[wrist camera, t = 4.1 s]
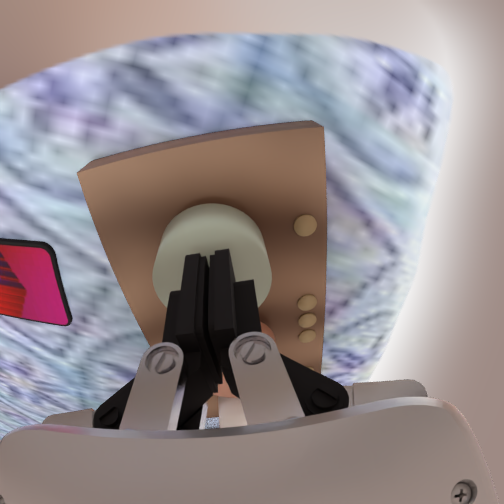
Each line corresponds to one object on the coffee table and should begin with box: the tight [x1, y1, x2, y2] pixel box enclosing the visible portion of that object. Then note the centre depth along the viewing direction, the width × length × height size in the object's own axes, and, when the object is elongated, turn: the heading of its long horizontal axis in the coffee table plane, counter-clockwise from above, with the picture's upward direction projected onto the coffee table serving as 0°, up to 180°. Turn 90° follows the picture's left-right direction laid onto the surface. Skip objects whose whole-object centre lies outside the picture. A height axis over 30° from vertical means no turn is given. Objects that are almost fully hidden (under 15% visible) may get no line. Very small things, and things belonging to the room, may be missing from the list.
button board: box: [77, 120, 327, 418], centre depth 20 cm, size 24×12×2 cm, turn 7°
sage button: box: [152, 203, 272, 307], centre depth 14 cm, size 5×5×2 cm
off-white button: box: [218, 396, 247, 428], centre depth 21 cm, size 5×5×2 cm
